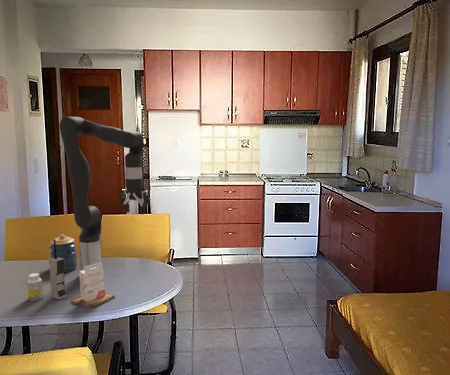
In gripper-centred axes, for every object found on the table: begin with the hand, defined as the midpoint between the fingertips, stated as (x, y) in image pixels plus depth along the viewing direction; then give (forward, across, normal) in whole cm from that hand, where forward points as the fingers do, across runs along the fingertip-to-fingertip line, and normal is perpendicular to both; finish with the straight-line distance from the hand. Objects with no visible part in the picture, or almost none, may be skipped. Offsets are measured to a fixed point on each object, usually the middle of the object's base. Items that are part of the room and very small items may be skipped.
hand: (135, 213), depth 191 cm
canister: (+32, -46, 0) cm, 56 cm away
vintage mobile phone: (+32, -19, -28) cm, 47 cm away
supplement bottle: (+32, -27, -33) cm, 53 cm away
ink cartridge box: (+31, -4, -24) cm, 39 cm away
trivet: (+32, -4, -24) cm, 40 cm away
